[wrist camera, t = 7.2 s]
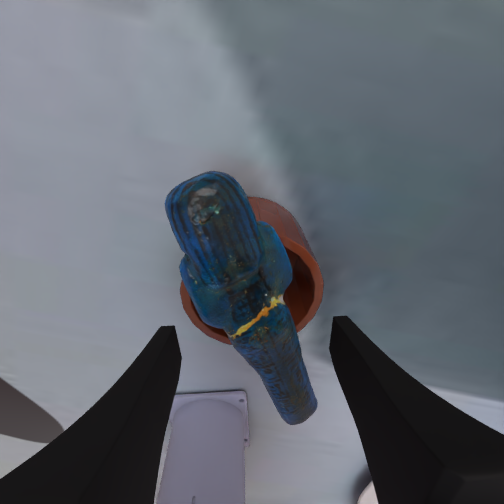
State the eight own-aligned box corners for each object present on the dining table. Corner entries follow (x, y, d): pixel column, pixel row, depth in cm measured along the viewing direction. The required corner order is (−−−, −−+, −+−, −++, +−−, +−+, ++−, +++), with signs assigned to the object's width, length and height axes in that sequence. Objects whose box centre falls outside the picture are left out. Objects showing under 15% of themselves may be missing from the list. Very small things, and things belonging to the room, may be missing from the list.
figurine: (315, 366, 19) (234, 150, 13) (350, 411, 16) (264, 151, 10) (254, 402, 19) (137, 193, 12) (277, 458, 15) (131, 210, 9)
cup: (300, 290, 22) (317, 343, 17) (201, 295, 22) (191, 350, 17) (306, 193, 19) (329, 227, 14) (187, 199, 18) (168, 235, 14)
